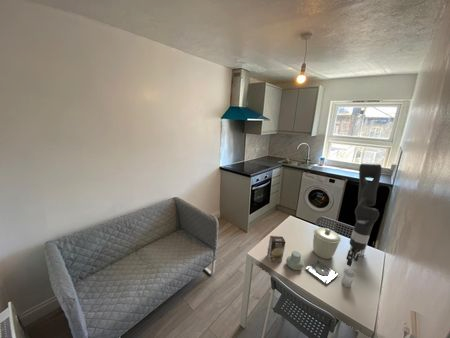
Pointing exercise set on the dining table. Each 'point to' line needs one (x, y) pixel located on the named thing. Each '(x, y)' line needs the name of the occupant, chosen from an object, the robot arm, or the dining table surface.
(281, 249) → the coffee box
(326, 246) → the canister
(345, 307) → the dining table surface
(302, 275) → the dining table surface
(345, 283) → the duct stub
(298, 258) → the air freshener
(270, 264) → the dining table surface
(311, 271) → the duct flange
